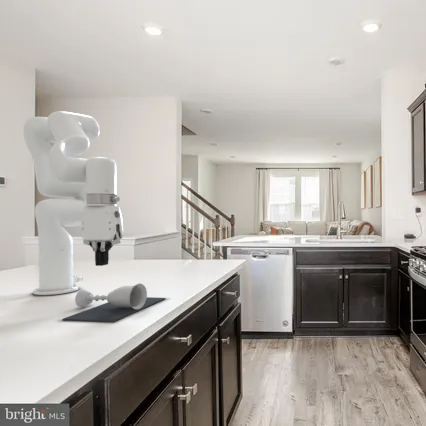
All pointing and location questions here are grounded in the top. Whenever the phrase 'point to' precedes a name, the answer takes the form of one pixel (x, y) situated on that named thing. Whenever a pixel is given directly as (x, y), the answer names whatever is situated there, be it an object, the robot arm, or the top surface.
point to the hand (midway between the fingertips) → (101, 264)
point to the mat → (109, 312)
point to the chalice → (116, 297)
